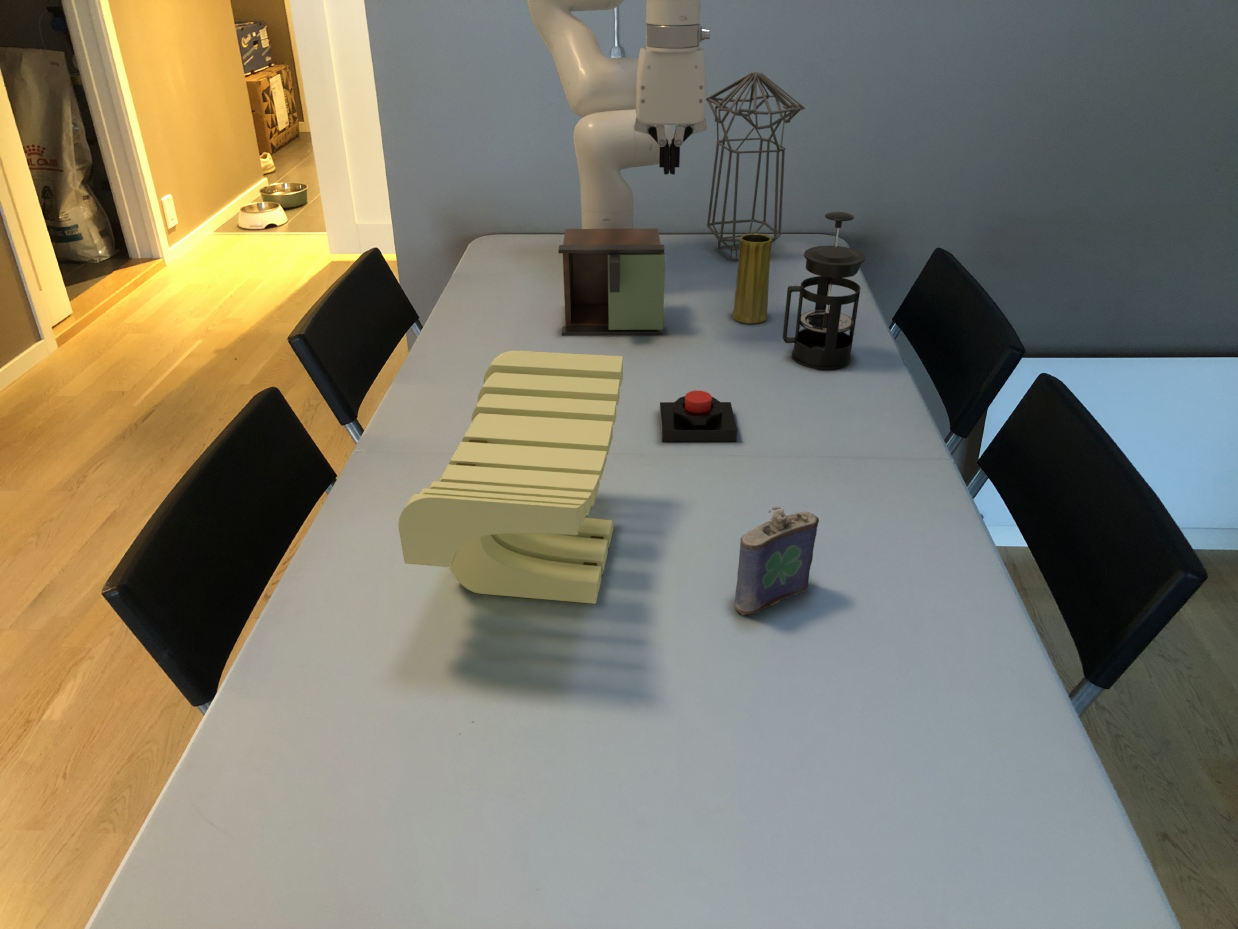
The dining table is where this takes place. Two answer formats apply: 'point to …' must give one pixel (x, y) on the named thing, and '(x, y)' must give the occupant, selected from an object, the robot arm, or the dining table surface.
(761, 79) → the geometric lantern
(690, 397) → the button
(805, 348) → the french press
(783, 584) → the flask
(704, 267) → the dining table surface
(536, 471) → the slatted curved stool
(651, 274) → the door
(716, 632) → the dining table surface
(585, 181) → the robot arm
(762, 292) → the vase
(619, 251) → the cupboard
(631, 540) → the dining table surface
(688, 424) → the control block
